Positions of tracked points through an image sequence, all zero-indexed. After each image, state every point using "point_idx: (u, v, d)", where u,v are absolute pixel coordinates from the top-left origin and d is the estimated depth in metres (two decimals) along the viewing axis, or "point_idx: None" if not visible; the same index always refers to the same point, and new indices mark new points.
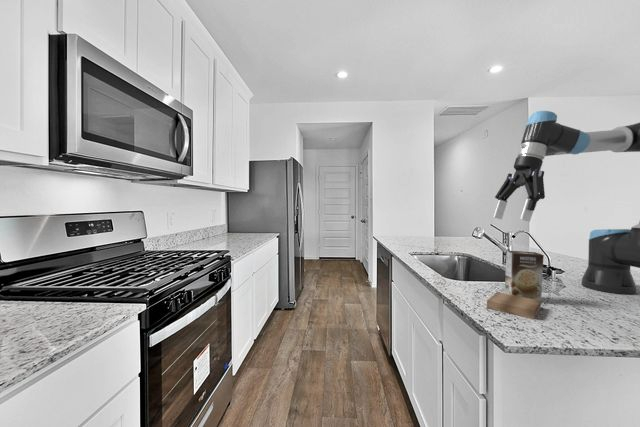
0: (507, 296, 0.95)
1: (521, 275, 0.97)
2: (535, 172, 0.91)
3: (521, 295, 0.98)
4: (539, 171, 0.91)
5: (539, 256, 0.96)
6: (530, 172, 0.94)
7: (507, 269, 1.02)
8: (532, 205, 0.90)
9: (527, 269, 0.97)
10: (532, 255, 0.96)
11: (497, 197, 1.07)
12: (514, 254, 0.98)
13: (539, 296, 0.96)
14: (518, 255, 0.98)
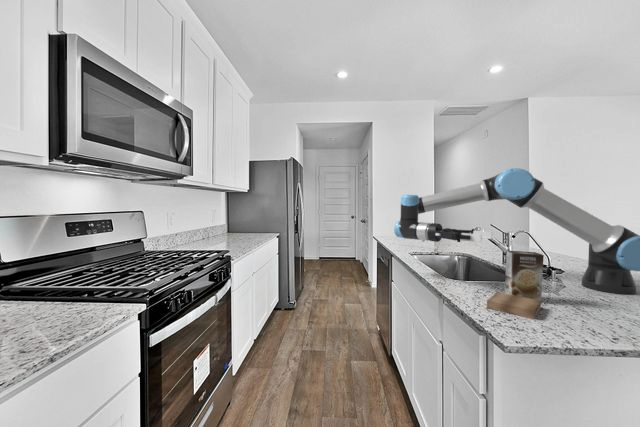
0: (507, 296, 0.95)
1: (521, 275, 0.97)
2: (438, 237, 1.14)
3: (521, 295, 0.98)
4: (436, 235, 1.14)
5: (539, 256, 0.96)
6: None
7: (507, 269, 1.02)
8: (465, 238, 1.05)
9: (527, 269, 0.97)
10: (532, 255, 0.96)
11: None
12: (514, 254, 0.98)
13: (539, 296, 0.96)
14: (518, 255, 0.98)
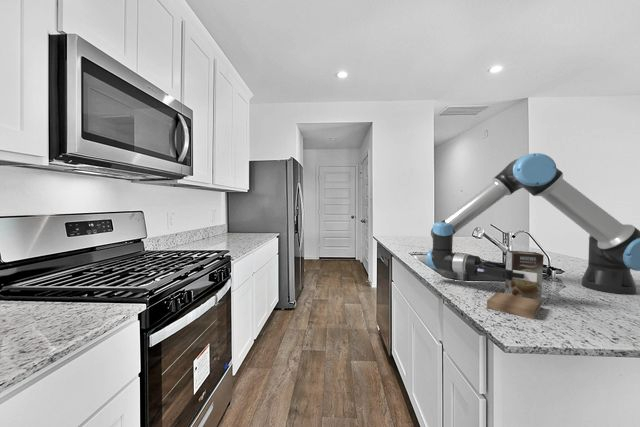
0: (507, 296, 0.95)
1: None
2: None
3: (521, 295, 0.98)
4: (479, 271, 1.03)
5: (539, 256, 0.96)
6: None
7: (507, 269, 1.02)
8: (518, 276, 0.96)
9: (527, 269, 0.97)
10: (532, 255, 0.96)
11: None
12: (514, 254, 0.98)
13: (539, 296, 0.96)
14: (518, 255, 0.98)
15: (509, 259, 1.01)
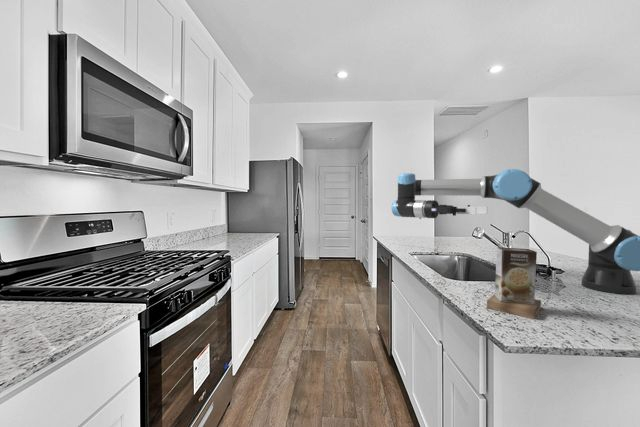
0: None
1: (512, 274, 0.88)
2: (434, 212, 1.16)
3: (512, 296, 0.89)
4: (432, 210, 1.16)
5: (532, 253, 0.87)
6: None
7: (497, 267, 0.93)
8: (460, 211, 1.07)
9: (519, 267, 0.88)
10: (524, 252, 0.87)
11: None
12: (504, 250, 0.89)
13: (532, 297, 0.87)
14: (509, 252, 0.88)
15: (499, 256, 0.92)
